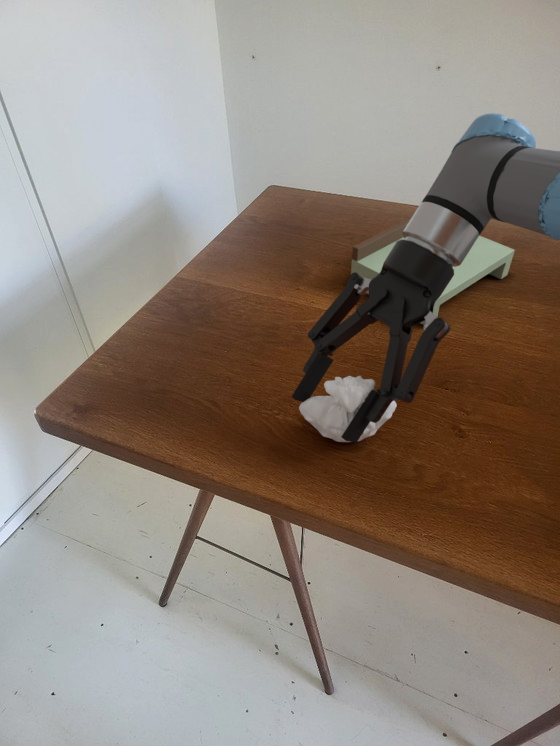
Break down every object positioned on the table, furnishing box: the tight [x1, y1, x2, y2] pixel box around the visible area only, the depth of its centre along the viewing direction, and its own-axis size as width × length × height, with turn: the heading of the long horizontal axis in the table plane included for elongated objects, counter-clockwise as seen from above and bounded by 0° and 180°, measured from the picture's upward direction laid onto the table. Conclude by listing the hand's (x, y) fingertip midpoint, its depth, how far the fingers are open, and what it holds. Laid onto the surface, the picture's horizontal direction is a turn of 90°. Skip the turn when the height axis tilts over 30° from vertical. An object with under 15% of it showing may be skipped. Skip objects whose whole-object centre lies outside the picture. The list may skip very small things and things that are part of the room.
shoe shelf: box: [350, 216, 516, 326], centre depth 89 cm, size 17×22×7 cm
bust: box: [298, 375, 398, 443], centre depth 63 cm, size 12×8×11 cm
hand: (323, 419), depth 63 cm, fingers closed on bust, 8 cm apart
